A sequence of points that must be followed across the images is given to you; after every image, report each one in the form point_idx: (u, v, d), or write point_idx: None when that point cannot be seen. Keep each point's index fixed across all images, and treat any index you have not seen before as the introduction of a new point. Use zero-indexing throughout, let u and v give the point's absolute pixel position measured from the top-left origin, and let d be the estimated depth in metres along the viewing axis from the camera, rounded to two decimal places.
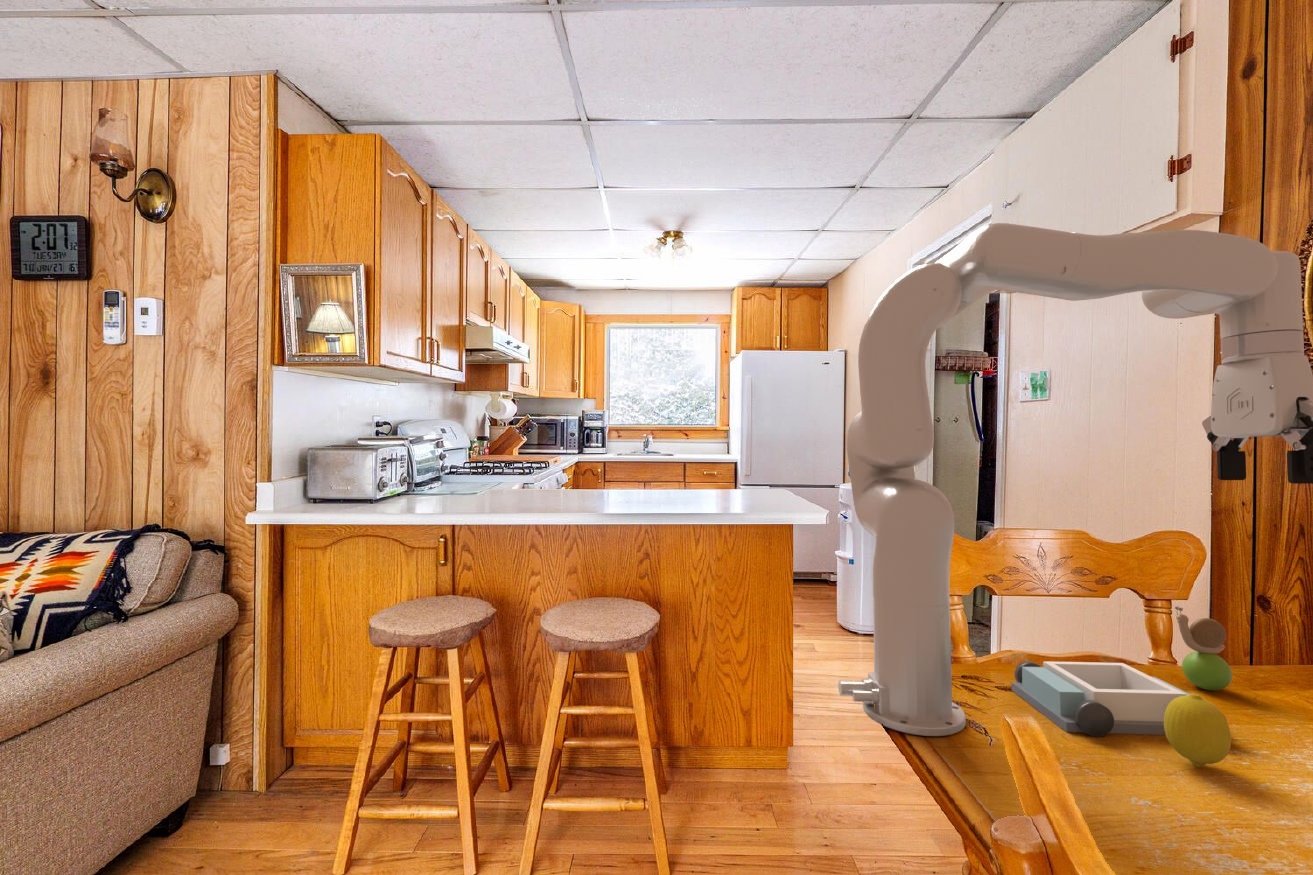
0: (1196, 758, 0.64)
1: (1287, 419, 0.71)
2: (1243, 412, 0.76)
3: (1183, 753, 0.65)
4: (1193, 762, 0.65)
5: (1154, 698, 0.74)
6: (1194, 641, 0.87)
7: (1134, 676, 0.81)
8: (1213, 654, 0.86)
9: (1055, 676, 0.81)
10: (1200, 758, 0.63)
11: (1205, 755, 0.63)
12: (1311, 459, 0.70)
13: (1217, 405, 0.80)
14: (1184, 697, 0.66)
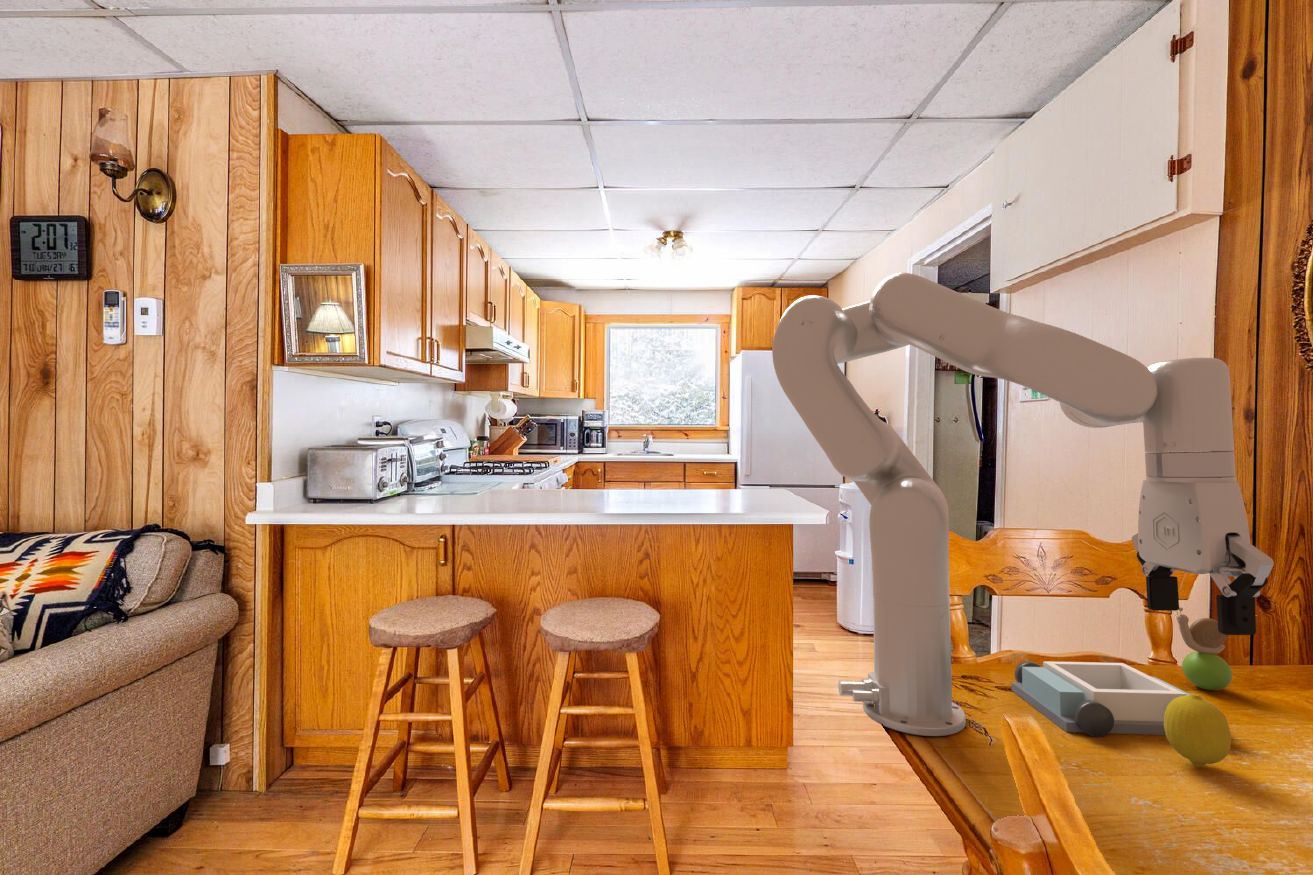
0: (1197, 758, 0.64)
1: (1215, 559, 0.61)
2: (1169, 541, 0.66)
3: (1183, 753, 0.65)
4: (1193, 762, 0.65)
5: (1154, 698, 0.74)
6: (1194, 641, 0.87)
7: (1134, 676, 0.81)
8: (1213, 654, 0.86)
9: (1055, 676, 0.81)
10: (1200, 758, 0.63)
11: (1205, 755, 0.63)
12: (1244, 607, 0.60)
13: (1143, 526, 0.70)
14: (1184, 697, 0.66)
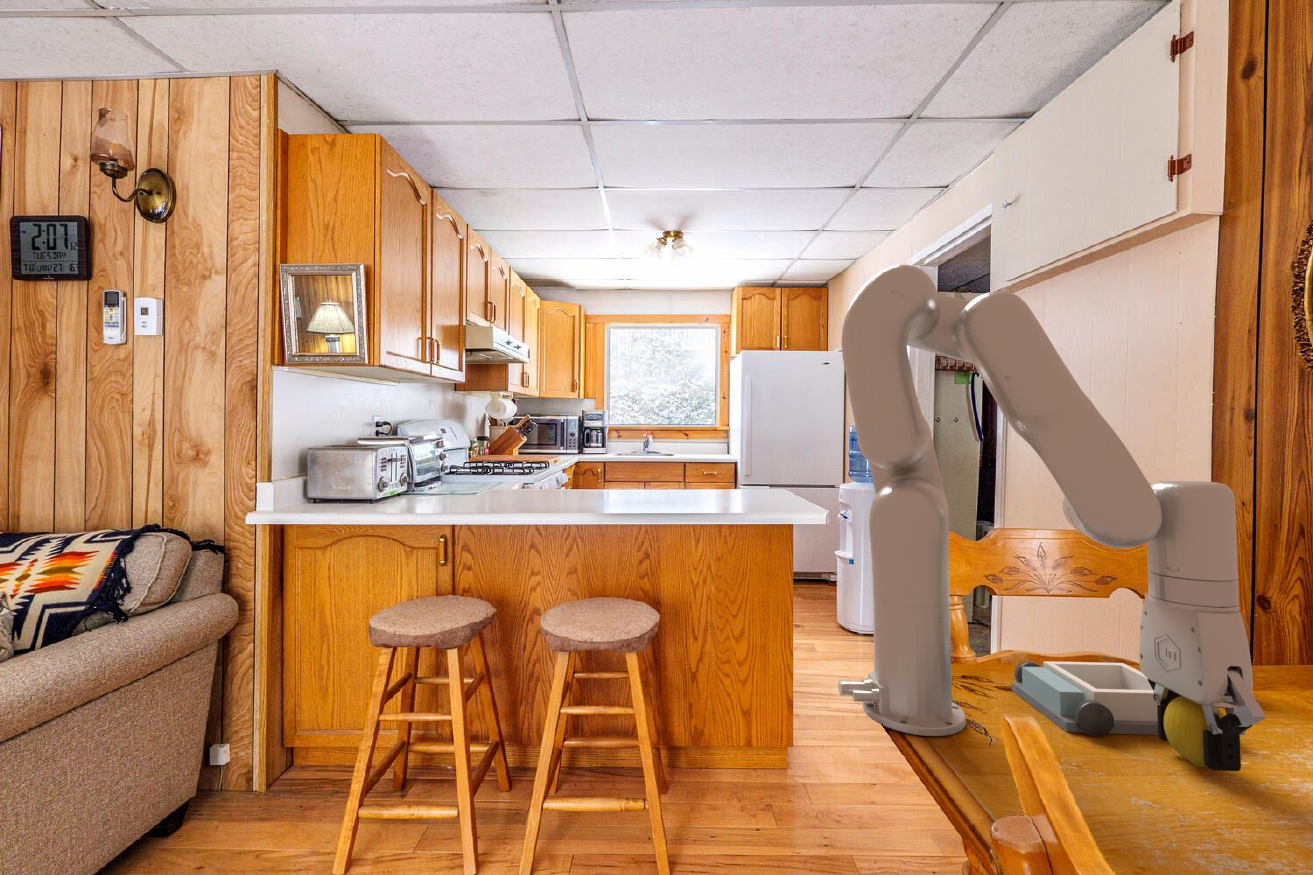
0: (1197, 758, 0.64)
1: (1217, 692, 0.61)
2: (1171, 664, 0.65)
3: (1183, 753, 0.65)
4: (1193, 762, 0.65)
5: None
6: None
7: (1134, 676, 0.81)
8: None
9: (1055, 676, 0.81)
10: (1200, 758, 0.63)
11: None
12: (1230, 745, 0.61)
13: (1145, 642, 0.69)
14: (1184, 697, 0.66)
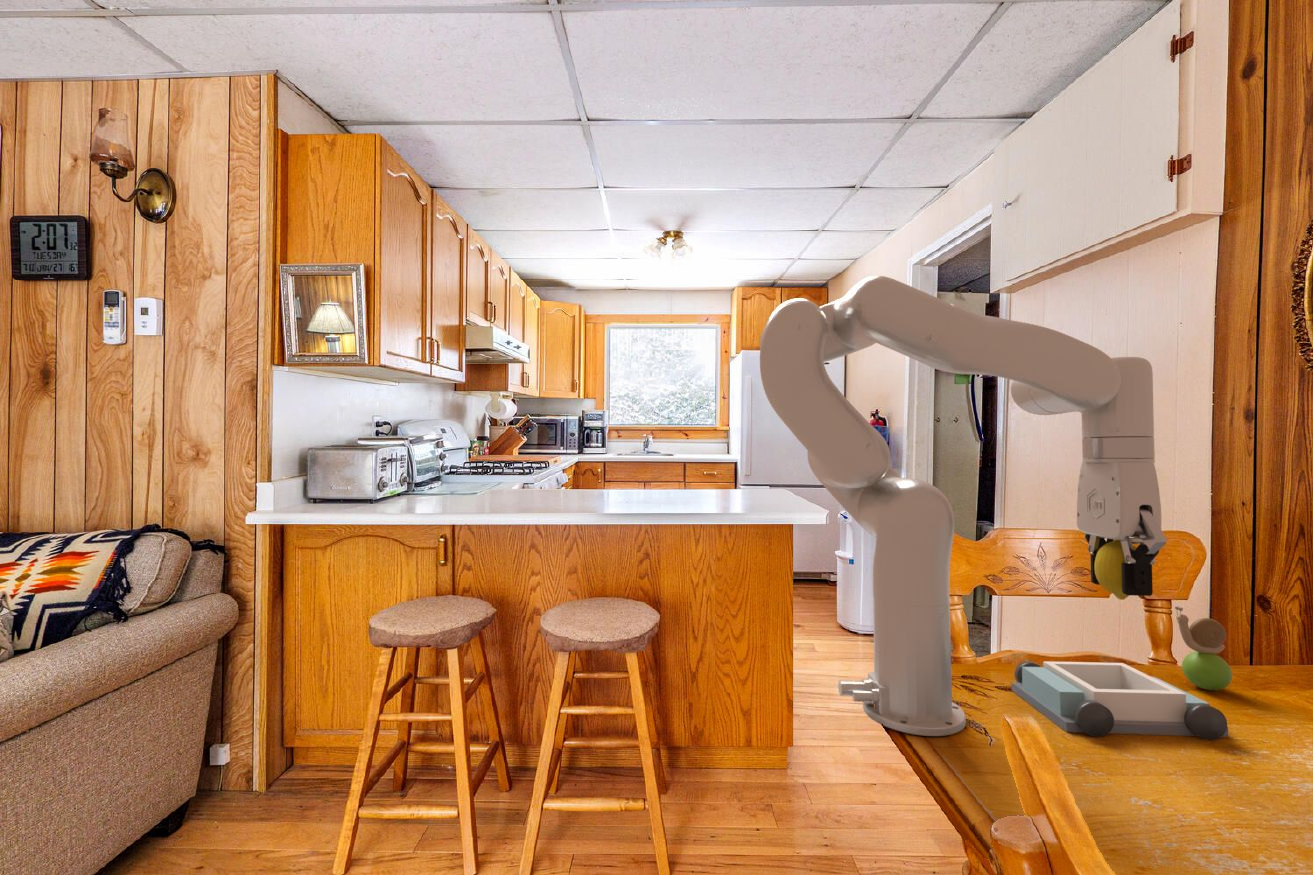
0: (1118, 589, 0.75)
1: (1130, 526, 0.72)
2: (1098, 513, 0.77)
3: (1108, 587, 0.76)
4: (1117, 595, 0.77)
5: (1154, 698, 0.74)
6: (1194, 641, 0.87)
7: (1134, 676, 0.81)
8: (1213, 654, 0.86)
9: (1055, 676, 0.81)
10: (1121, 589, 0.75)
11: None
12: (1142, 573, 0.73)
13: (1080, 501, 0.81)
14: (1111, 542, 0.77)
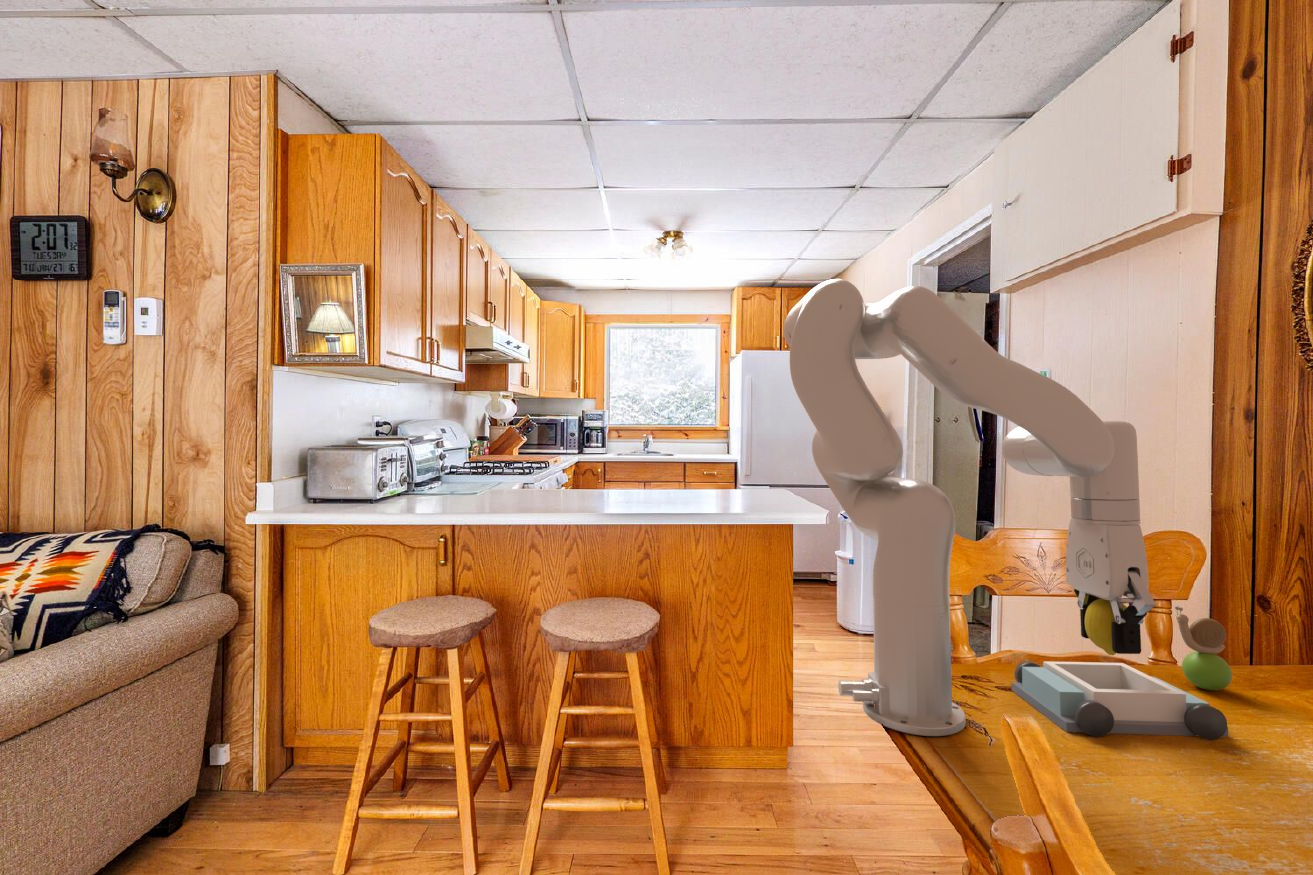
0: (1108, 647, 0.78)
1: (1119, 588, 0.75)
2: (1087, 572, 0.80)
3: (1098, 643, 0.79)
4: (1107, 651, 0.79)
5: (1154, 698, 0.74)
6: (1194, 641, 0.87)
7: (1134, 676, 0.81)
8: (1213, 654, 0.86)
9: (1055, 676, 0.81)
10: (1111, 646, 0.78)
11: None
12: (1131, 632, 0.76)
13: (1070, 557, 0.83)
14: (1100, 599, 0.80)
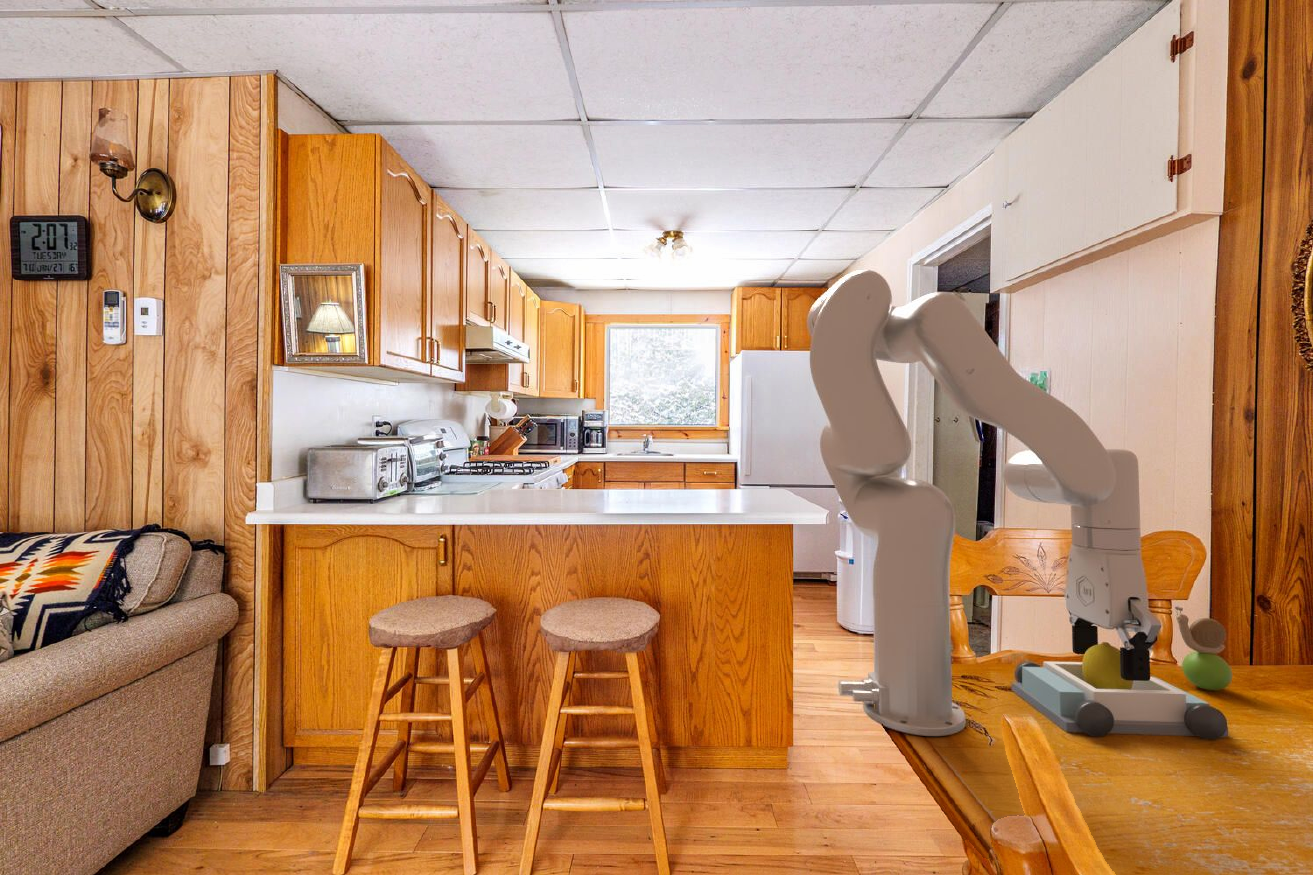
0: None
1: (1119, 618, 0.75)
2: (1087, 599, 0.79)
3: None
4: None
5: (1154, 698, 0.74)
6: (1194, 641, 0.87)
7: None
8: (1213, 654, 0.86)
9: (1055, 676, 0.81)
10: None
11: None
12: (1140, 658, 0.74)
13: (1070, 584, 0.83)
14: (1097, 645, 0.80)
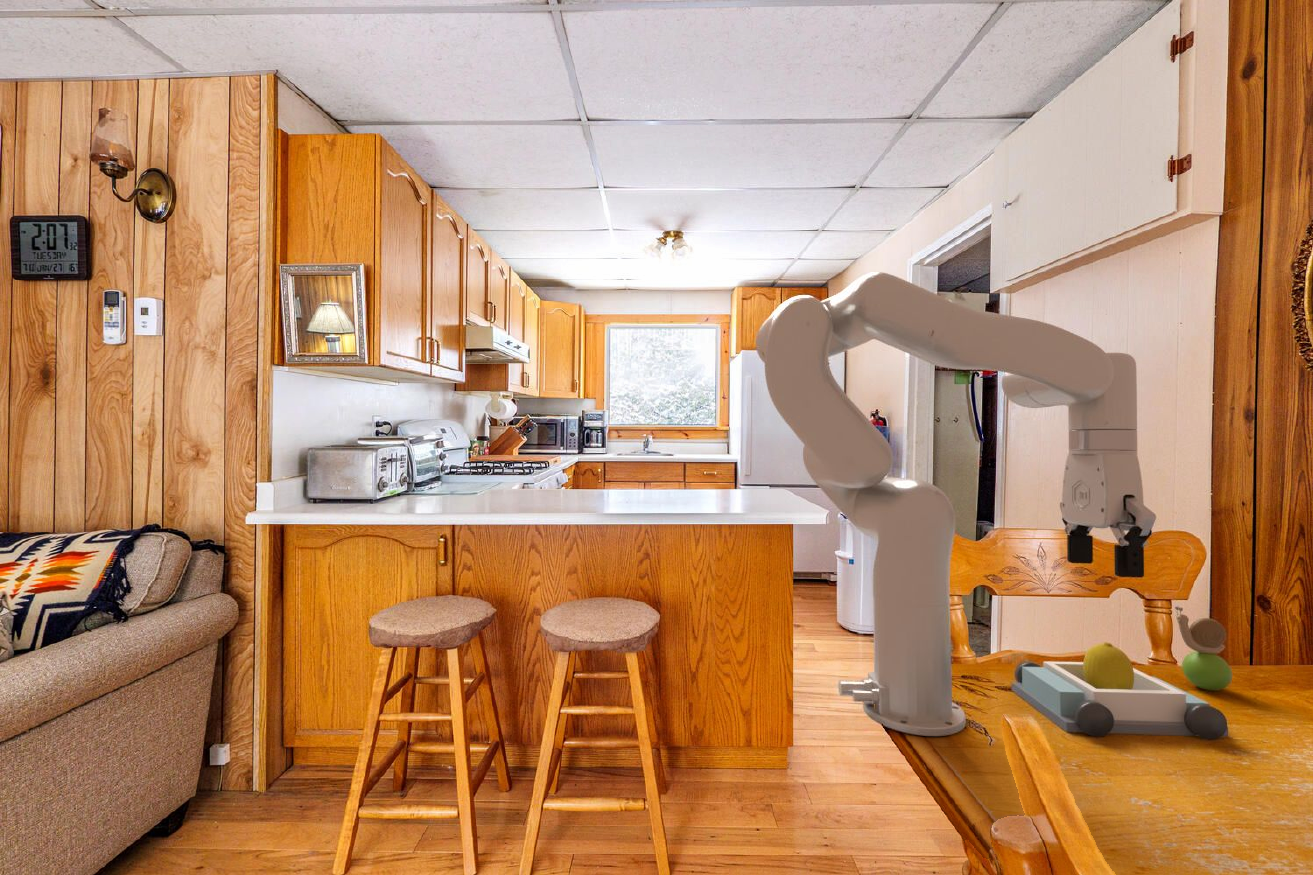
0: None
1: (1114, 515, 0.75)
2: (1083, 503, 0.80)
3: None
4: None
5: (1154, 698, 0.74)
6: (1194, 641, 0.87)
7: (1134, 676, 0.81)
8: (1213, 654, 0.86)
9: (1055, 676, 0.81)
10: None
11: None
12: (1135, 555, 0.74)
13: (1066, 492, 0.84)
14: (1099, 645, 0.80)
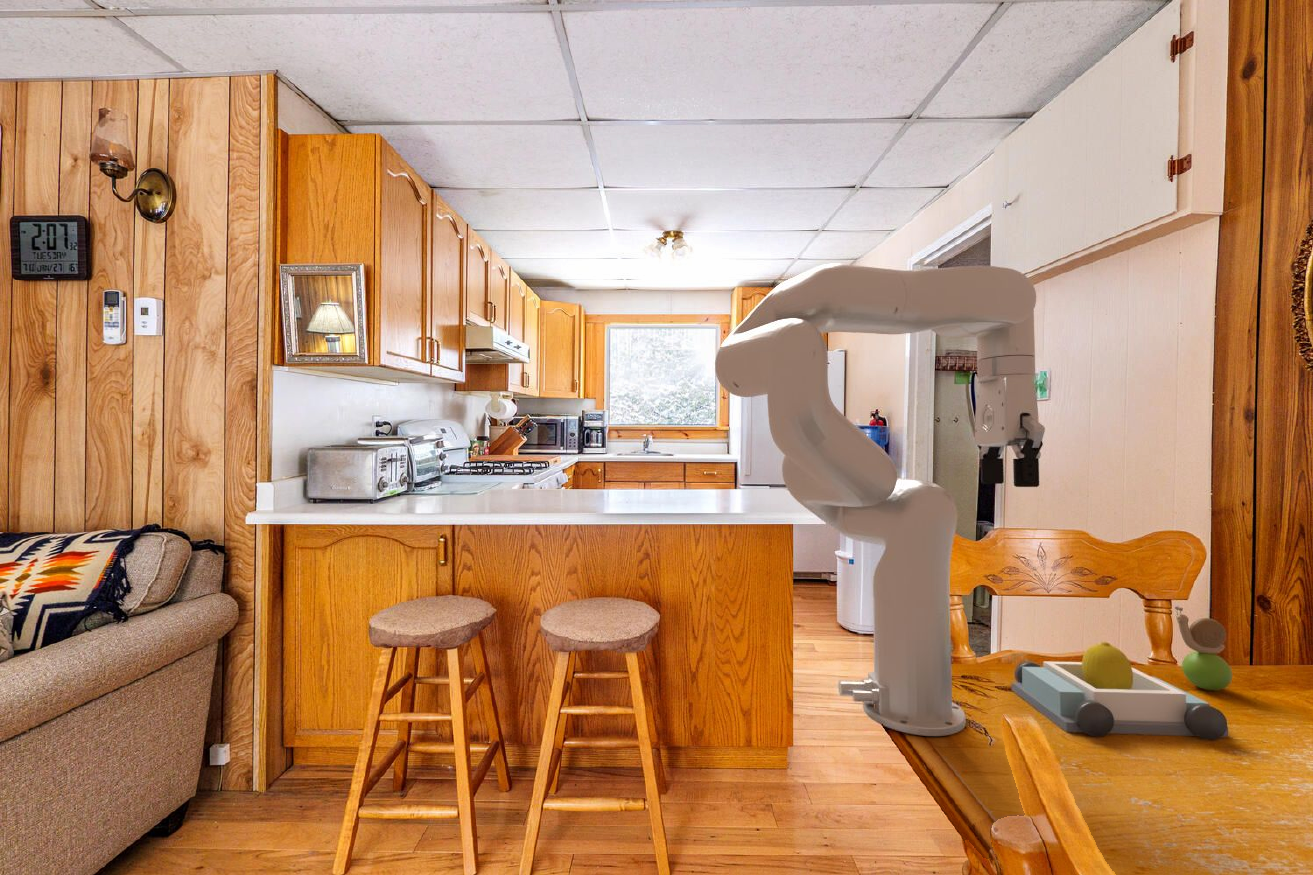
0: None
1: (1012, 432, 0.83)
2: (989, 425, 0.88)
3: None
4: None
5: (1154, 698, 0.74)
6: (1194, 641, 0.87)
7: (1134, 676, 0.81)
8: (1213, 654, 0.86)
9: (1055, 676, 0.81)
10: None
11: None
12: (1030, 466, 0.82)
13: (977, 418, 0.92)
14: (1097, 645, 0.80)
